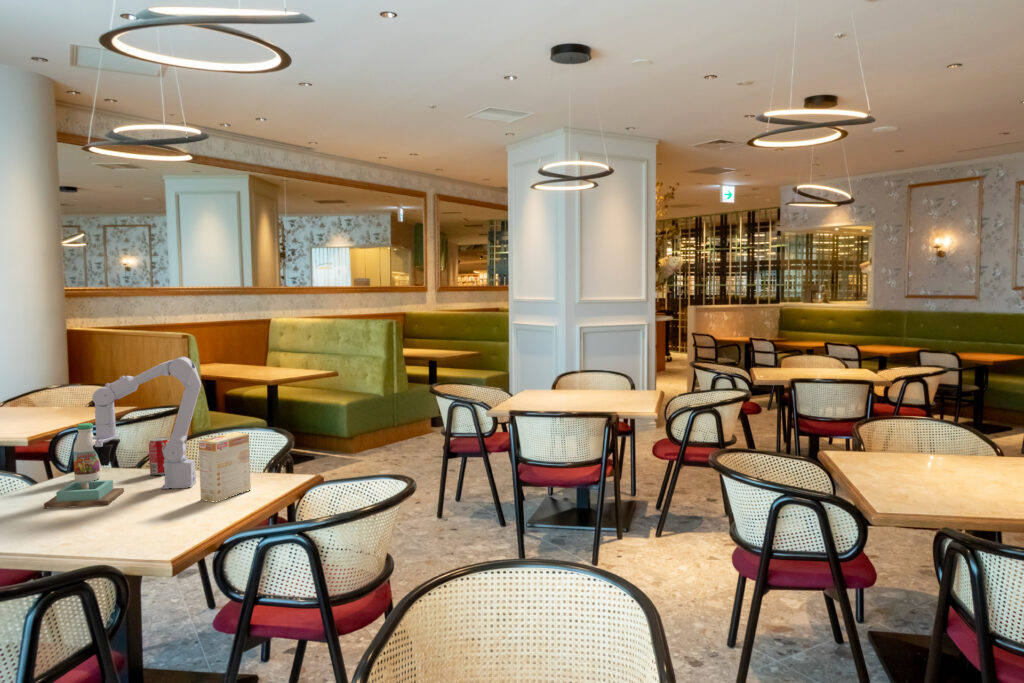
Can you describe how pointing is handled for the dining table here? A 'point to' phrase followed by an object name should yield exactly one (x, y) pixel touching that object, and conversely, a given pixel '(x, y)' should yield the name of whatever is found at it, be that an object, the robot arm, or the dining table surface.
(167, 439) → the soda can
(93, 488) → the teal square frame
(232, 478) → the coffeecake box
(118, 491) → the board
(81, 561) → the dining table surface
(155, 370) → the robot arm
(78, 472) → the milk bottle
